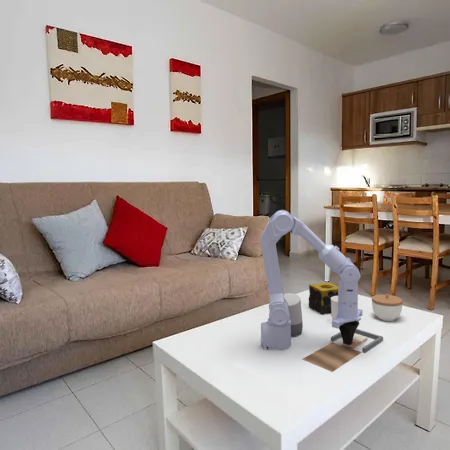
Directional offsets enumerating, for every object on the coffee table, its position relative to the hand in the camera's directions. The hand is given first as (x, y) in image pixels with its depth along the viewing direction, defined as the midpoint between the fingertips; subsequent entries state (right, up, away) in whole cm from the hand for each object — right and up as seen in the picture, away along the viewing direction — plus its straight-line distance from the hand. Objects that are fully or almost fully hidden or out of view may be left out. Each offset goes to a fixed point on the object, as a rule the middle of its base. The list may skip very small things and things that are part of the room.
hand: (347, 343), depth 112 cm
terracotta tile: (+2, -1, +2) cm, 3 cm away
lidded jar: (+24, +1, +26) cm, 35 cm away
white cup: (+5, 0, +20) cm, 21 cm away
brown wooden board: (-6, -3, -5) cm, 9 cm away
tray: (+4, -2, +4) cm, 6 cm away
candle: (+3, +2, +37) cm, 38 cm away
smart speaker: (-16, -2, +13) cm, 21 cm away
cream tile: (+5, -1, +5) cm, 7 cm away
